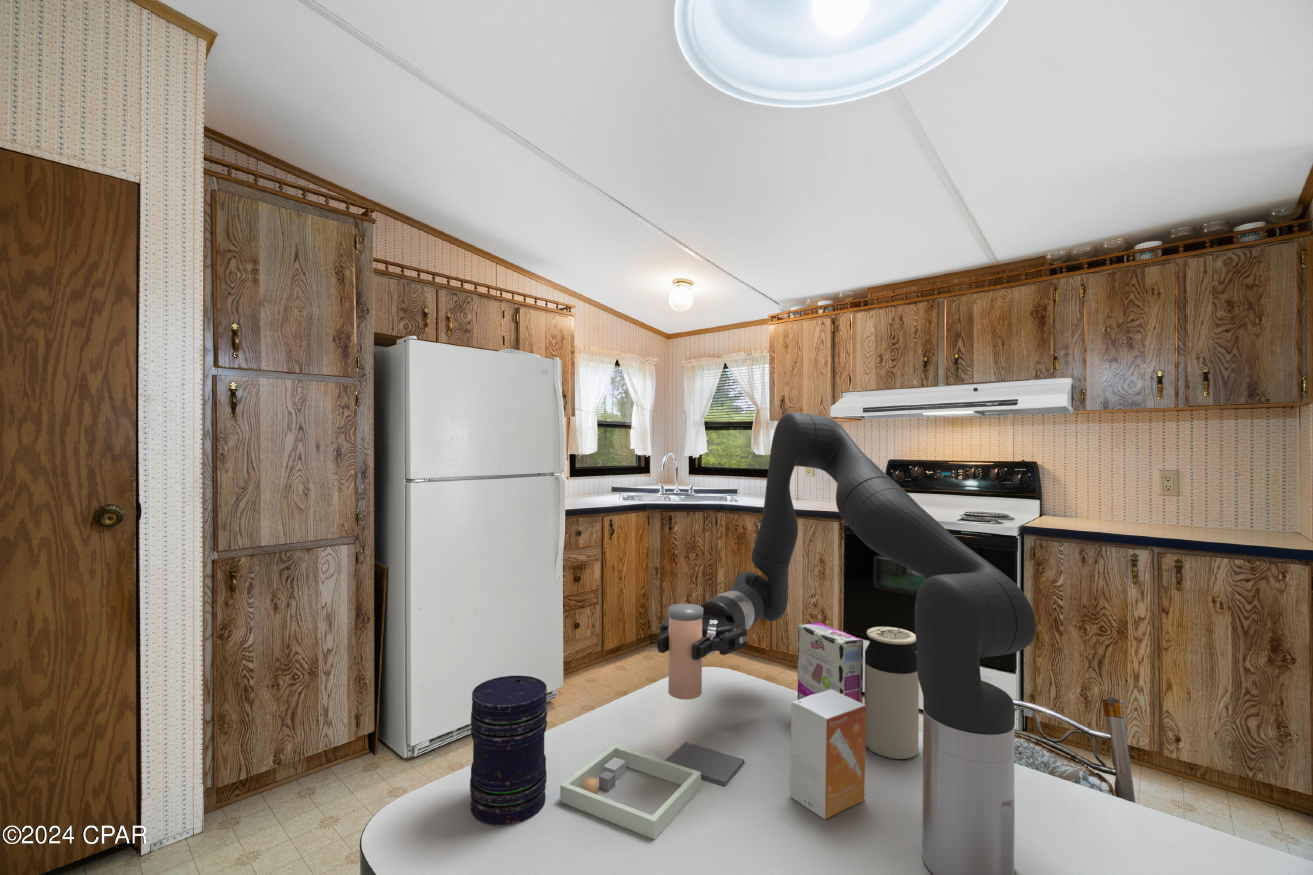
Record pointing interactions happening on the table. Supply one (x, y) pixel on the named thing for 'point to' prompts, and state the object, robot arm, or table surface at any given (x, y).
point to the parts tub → (609, 768)
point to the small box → (827, 752)
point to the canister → (684, 651)
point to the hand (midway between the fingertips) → (677, 649)
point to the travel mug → (891, 693)
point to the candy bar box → (829, 661)
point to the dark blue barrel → (508, 750)
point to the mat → (707, 762)
